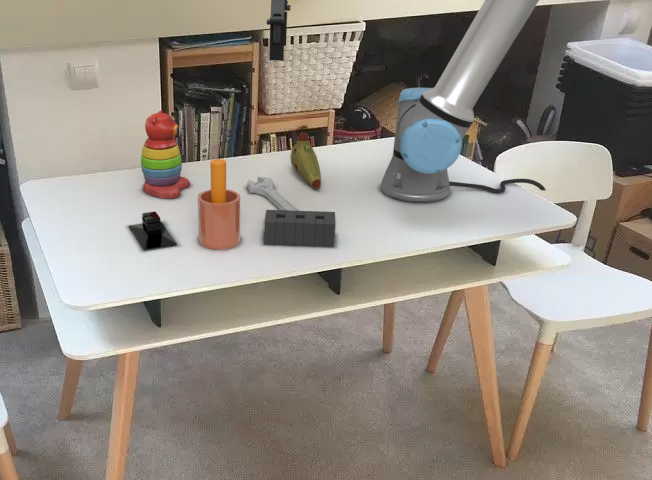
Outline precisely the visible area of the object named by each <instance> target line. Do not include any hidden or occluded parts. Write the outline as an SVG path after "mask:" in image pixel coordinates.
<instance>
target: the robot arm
mask: <svg viewBox="0 0 652 480" xmlns="http://www.w3.org/2000/svg"><path fill="white" fill-rule="evenodd" d="M539 1H540V0H484V1H483V3H482V5H481V6H480V8H479V10H478V11H477V13H476V15H475V16H474V19H473V20H472V22H471V24H470V25H469V27H468V28H467V31H466V32H465V34H464V35H463V38H462V39H461V41H460V43H459V44H458V46H457V47H456V50H455V51H454V53H453V55H452V57H451V59H450V60H449V62H448V63H447V66H446V67H445V69H444V71H443V72H442V74H441V76H440V77H439V79H438V81H437V83H436V85H435V86H434V87H409V88H404V89H403V90H401V91H400V94H399V97H398V101H397V105H398V106H397V116H396V124H395V133H394V141H393V151H392V157H391V158H390V161H389V163H388V166H387V168H386V170H385V172H384V174H383V176H382V179H381V184H380V185H381V186H380V189H381V192H383V194H385V195H386V196H387V197H390V198H392V199H395V200H399V201H402V202H408V203H432V202H438V201H441V200H443V199H445V198H447V197H448V195H449V193H450V187H459V188H469V189H477V190H478V189H479V190H484V191H486V192H490V193H493V194H501V193H504V192H505V191H506V185H510V184H530V185H533V186H535V187H537V188H538V189H539V191H546V188H545V186H544V185H543V184H542V183H540V182H538V181H536V180H534V179H530V178H511V179H504V180H501V182H500V183H499V187H500V188H495V187H491V186H488V185H484V184H478V183H468V182H457V181H450V179H449V173H448V169H449V168H450V167H451V166H453V165H454V164H455V162H456V161H457V160H458V159H459V156H460V155H461V151H462V147H463V139H464V138H465V136H466V134H467V133H468V131H469V130H470V128H471V126H472V125H473V123H474V121H475V119H476V118H475V114H474V107H475V105H477V102H478V100H479V99H480V97H481V96H482V94H483V92H484V91H485V88H486V87H487V86H488V85H489V82H490V81H491V80H492V77H493V76H494V74H495V72H496V71H497V70H498V68H499V66H500V65H501V63H502V61H503V60H504V58H505V57H506V55H507V53H508V52H509V50H510V48H511V47H512V45H513V43H514V42H515V41H516V39H517V37H518V36H519V34H520V32H521V31H522V29H523V28H524V26H525V24H526V22H527V21H528V19H529V18H530V16H531V14H532V13H533V11H534V9H535V8H536V6H537V5H538V3H539ZM291 6H292V5H291V4H289V2H288V0H270V17H269V18H268V19H266V25H267V26H268V25H269V55H268V56H269V59H268V60H269V61H275V62H276V61H278V62H279V61H280V62H282V61H285V60H284V59H285V58H284V57H285V47H286V46H287V31H288V30H287V29H288V12H291Z"/></svg>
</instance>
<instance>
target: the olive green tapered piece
mask: <svg viewBox="0 0 652 480" xmlns="http://www.w3.org/2000/svg"><path fill="white" fill-rule="evenodd" d="M290 163H291V166H292V168H293V169H294V170H295V171H296V172H297V173H298V174H299V175H300V177H302V178H303V180H304V181H305V182H307V183H308V184H309V185H310V186H311V187H312V188H315V189H317V190H319V189H321V186H322V174H321V169H320V164H319V160H318V156H317V154H316V152H315V150H314V148H313V146H312V143H311V141H310V137H309V134H308V132H305V131H302V132H299V134H298V136H297V140H296V143H295V144H294V145H293V147H292V148H291V153H290Z"/></svg>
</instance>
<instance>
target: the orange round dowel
mask: <svg viewBox="0 0 652 480" xmlns="http://www.w3.org/2000/svg"><path fill="white" fill-rule="evenodd" d="M209 164H210V166H209V167H210V190H211V203H219V204H221V203H226V189H227V161H226V160H225V159H222V158H214V159H211V160H210V163H209Z"/></svg>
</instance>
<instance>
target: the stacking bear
mask: <svg viewBox="0 0 652 480" xmlns="http://www.w3.org/2000/svg"><path fill="white" fill-rule="evenodd" d="M144 128H145V133H146V136H147V138H146V139H145V141H144V143H143V145H142V149H141V156H140V165H141V166H140V167H141V171H142V174H143V178H144V183H143V191H144V192H145V193H146V194H148V195H150V196H154V197H157V198H162V199H170V200H171V199H176V198H178V197H181V191H182V190H184V189H186V188H189V187H190V185H191V182H190V180H189V179H188V178H187V177H185V176H181V175H182V173H181V172H182V166H183V163H182V162H183V161H182V160H183V159H182V154H181V151H180V147H179V144H178V141H177V140H176V138H175V137H176V136H177V134H178V131H179V125H178V124H177V122H175V121H174V119H173V118H172V117H171V116H170V115H169V114H168V113H164V111H163V109H162V110H161V109H160V110H159V111H158V112H156V113H152V114H151V115H149V116H148V117H147V118H146V120H145V123H144Z"/></svg>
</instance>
